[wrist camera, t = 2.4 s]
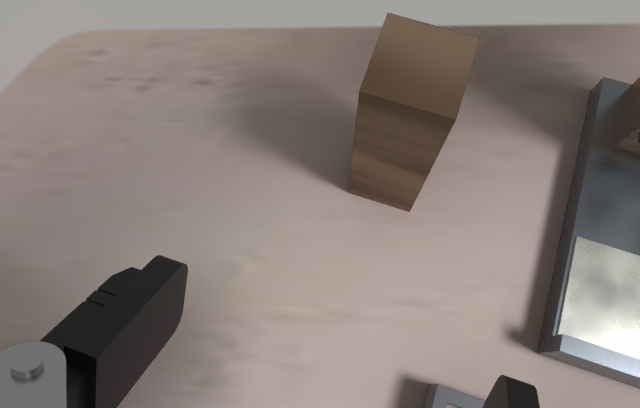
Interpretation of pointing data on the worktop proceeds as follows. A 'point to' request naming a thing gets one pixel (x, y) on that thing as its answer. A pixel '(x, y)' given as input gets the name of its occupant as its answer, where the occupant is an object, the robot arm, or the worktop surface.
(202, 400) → the worktop surface
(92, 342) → the robot arm
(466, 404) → the can holder frame
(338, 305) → the worktop surface
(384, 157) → the block
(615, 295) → the grey and tan stand
